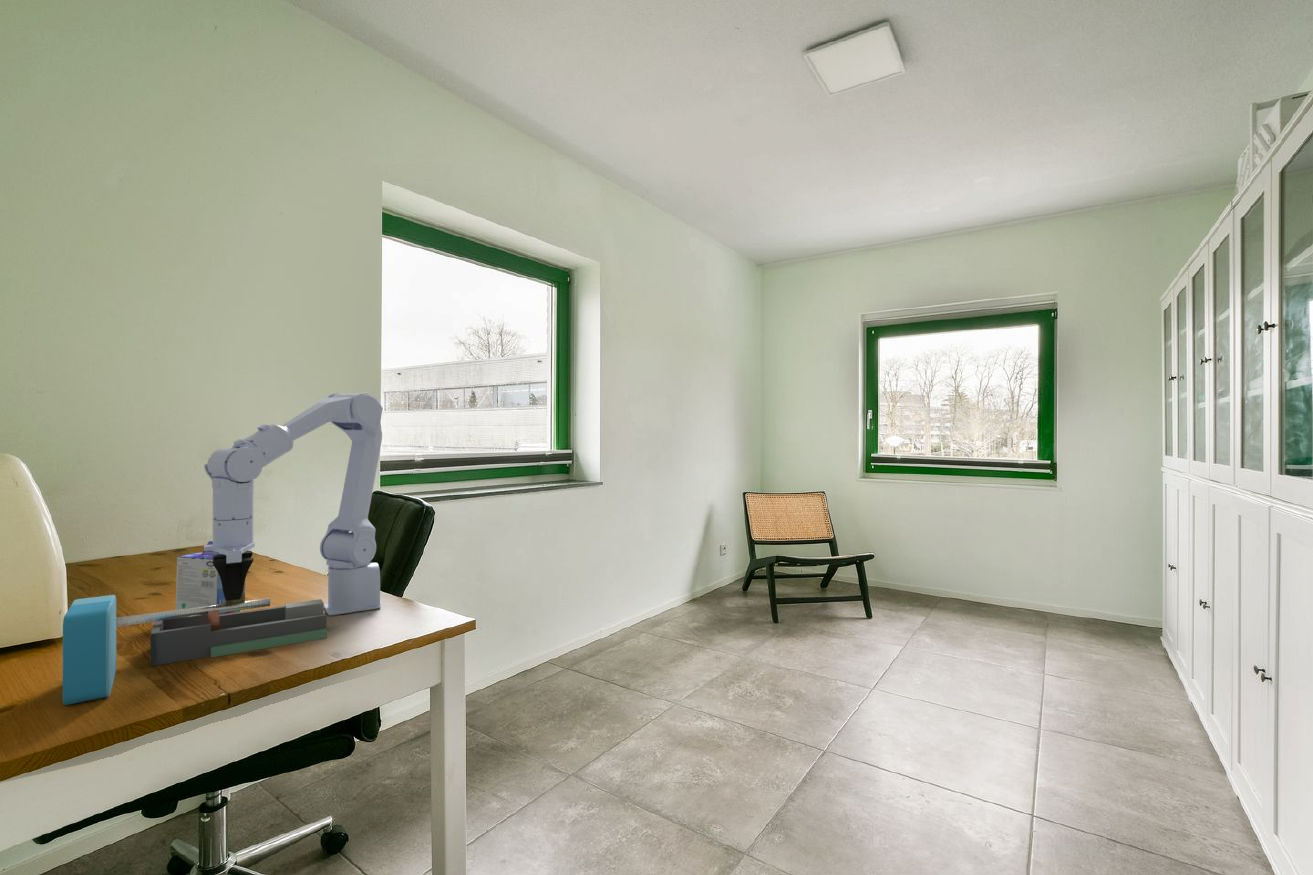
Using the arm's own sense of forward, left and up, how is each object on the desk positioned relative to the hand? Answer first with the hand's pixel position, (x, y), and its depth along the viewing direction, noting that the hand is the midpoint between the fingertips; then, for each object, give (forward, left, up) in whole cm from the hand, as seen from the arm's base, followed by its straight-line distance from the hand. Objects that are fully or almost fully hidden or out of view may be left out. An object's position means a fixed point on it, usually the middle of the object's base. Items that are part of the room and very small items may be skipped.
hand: (233, 597), depth 104 cm
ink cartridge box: (+3, -19, -8) cm, 21 cm away
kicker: (+5, 0, -6) cm, 8 cm away
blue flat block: (+16, +11, -8) cm, 21 cm away
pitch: (-1, 0, -8) cm, 8 cm away
